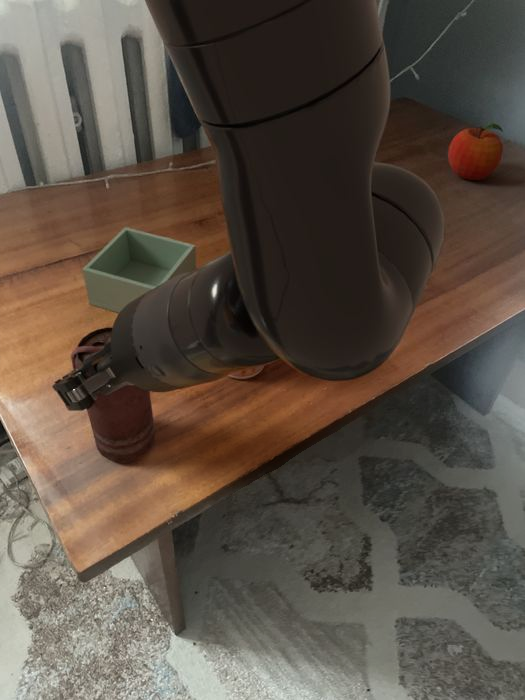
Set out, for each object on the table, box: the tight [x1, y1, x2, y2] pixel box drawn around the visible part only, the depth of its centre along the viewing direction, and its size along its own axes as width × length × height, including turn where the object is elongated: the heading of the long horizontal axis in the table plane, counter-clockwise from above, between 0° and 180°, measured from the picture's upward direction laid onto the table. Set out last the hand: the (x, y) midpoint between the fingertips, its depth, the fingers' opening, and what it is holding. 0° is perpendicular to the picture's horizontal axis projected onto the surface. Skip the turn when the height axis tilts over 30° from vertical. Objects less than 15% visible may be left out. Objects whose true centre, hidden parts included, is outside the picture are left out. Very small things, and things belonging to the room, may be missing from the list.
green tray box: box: [82, 226, 197, 314], centre depth 75 cm, size 11×11×6 cm
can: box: [70, 326, 156, 464], centre depth 54 cm, size 6×6×14 cm
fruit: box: [447, 122, 504, 181], centre depth 104 cm, size 10×10×10 cm
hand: (101, 366), depth 53 cm, fingers closed on can, 6 cm apart
